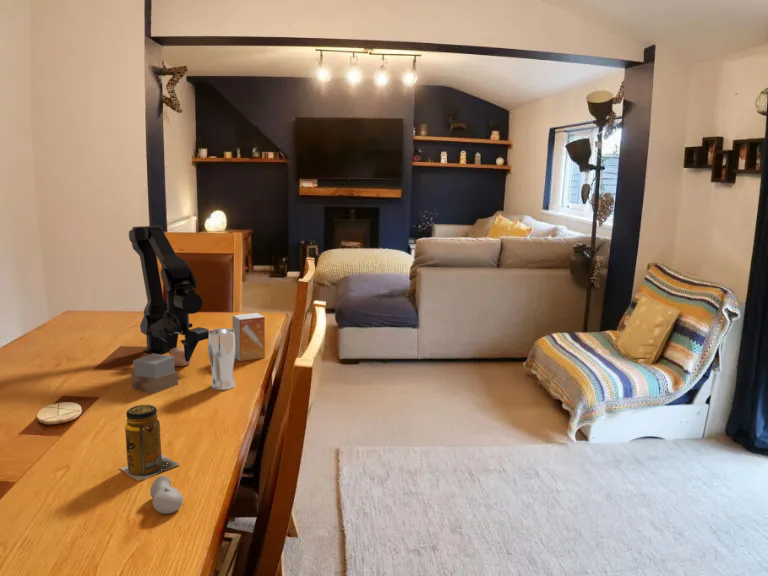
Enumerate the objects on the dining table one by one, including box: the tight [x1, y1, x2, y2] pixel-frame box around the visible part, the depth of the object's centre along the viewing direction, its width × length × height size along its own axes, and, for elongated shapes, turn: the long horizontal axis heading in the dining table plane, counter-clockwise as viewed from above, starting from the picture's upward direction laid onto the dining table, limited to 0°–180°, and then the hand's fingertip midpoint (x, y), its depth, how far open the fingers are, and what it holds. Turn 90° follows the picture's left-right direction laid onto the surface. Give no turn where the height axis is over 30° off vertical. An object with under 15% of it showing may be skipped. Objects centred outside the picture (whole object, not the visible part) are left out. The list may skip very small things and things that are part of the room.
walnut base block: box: [130, 370, 179, 395], centre depth 156 cm, size 8×8×4 cm
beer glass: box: [207, 327, 236, 391], centre depth 156 cm, size 7×7×15 cm
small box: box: [231, 312, 266, 362], centre depth 181 cm, size 8×6×13 cm
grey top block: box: [132, 353, 176, 379], centre depth 155 cm, size 7×7×4 cm
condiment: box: [119, 404, 180, 482], centre depth 113 cm, size 7×8×12 cm
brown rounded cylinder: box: [169, 346, 191, 367], centre depth 174 cm, size 6×6×4 cm
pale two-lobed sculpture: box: [149, 475, 184, 515], centre depth 101 cm, size 4×8×5 cm
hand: (180, 359), depth 174 cm, fingers closed on brown rounded cylinder, 5 cm apart
